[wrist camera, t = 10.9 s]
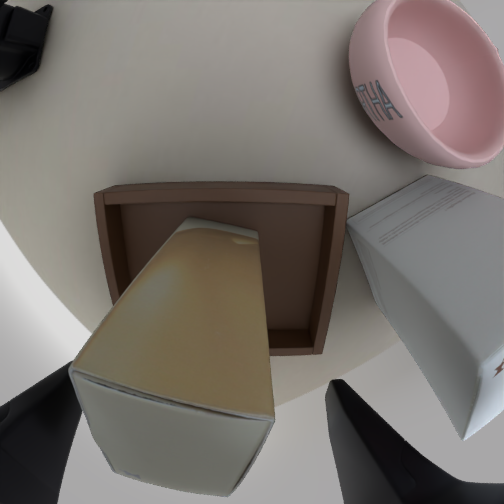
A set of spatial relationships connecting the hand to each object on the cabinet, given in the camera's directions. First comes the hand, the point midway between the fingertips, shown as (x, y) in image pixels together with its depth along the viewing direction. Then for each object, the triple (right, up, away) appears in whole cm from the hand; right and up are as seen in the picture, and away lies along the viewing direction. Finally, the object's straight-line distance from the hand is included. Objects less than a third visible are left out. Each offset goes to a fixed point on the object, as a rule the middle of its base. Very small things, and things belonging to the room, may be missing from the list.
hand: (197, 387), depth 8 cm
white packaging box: (+12, +5, +9) cm, 16 cm away
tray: (0, +4, +9) cm, 10 cm away
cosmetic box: (0, +4, +8) cm, 9 cm away
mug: (+12, +16, +4) cm, 20 cm away
